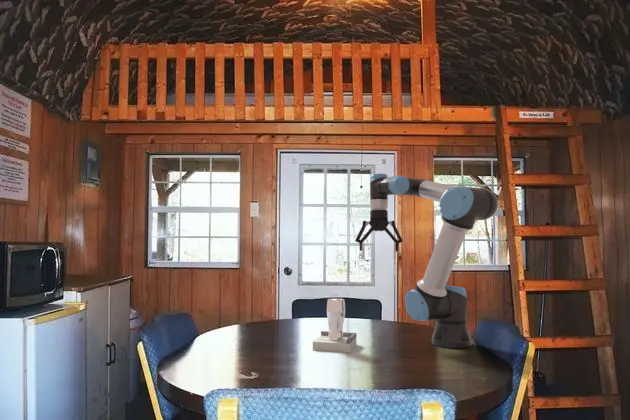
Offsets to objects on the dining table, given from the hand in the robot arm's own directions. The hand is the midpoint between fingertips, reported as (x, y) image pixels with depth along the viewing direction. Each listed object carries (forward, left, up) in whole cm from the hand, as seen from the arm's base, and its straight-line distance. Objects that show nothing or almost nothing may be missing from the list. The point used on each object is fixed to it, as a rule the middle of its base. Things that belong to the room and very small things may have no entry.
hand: (378, 258), depth 223 cm
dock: (+13, +28, -33) cm, 45 cm away
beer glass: (+13, +28, -30) cm, 43 cm away
